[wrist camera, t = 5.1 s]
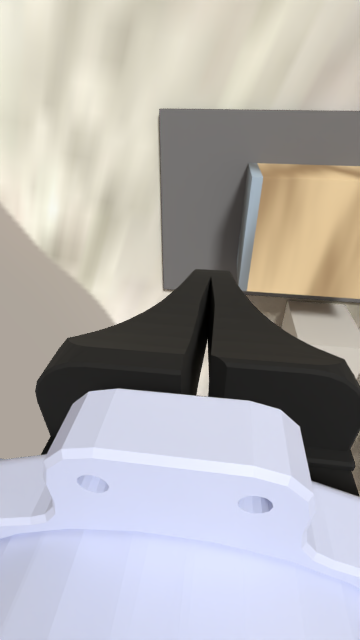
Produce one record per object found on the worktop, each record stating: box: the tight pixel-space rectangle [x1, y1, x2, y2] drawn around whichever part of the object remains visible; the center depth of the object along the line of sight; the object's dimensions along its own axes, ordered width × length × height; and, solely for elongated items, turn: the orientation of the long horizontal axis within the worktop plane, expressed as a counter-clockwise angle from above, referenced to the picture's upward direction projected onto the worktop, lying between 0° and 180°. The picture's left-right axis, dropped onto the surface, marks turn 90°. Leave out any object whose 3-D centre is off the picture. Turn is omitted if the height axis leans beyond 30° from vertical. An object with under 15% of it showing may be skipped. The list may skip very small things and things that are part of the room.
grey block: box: [281, 301, 360, 380], centre depth 22 cm, size 4×4×5 cm
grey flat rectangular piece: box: [159, 109, 360, 303], centre depth 20 cm, size 15×11×1 cm
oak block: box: [237, 163, 360, 299], centre depth 18 cm, size 4×6×8 cm
